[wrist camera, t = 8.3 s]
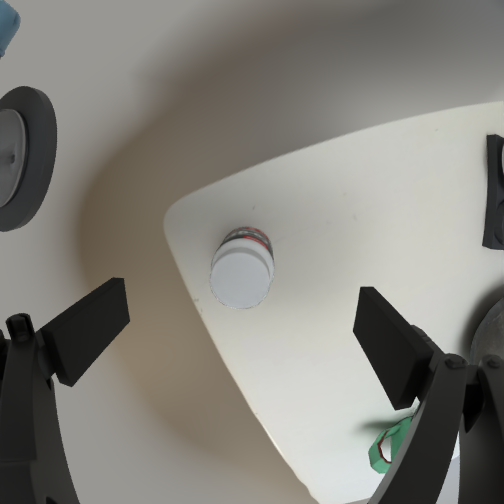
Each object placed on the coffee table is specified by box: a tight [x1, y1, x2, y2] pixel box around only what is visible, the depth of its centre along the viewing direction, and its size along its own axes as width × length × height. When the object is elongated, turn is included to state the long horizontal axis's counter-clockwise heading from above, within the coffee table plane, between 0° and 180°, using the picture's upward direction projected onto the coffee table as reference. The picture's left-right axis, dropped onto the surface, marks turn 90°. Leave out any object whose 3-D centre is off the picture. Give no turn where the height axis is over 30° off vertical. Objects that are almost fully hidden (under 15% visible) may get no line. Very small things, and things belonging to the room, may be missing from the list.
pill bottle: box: [210, 227, 275, 309], centre depth 22 cm, size 5×5×8 cm
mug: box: [369, 417, 453, 473], centre depth 27 cm, size 15×10×10 cm
